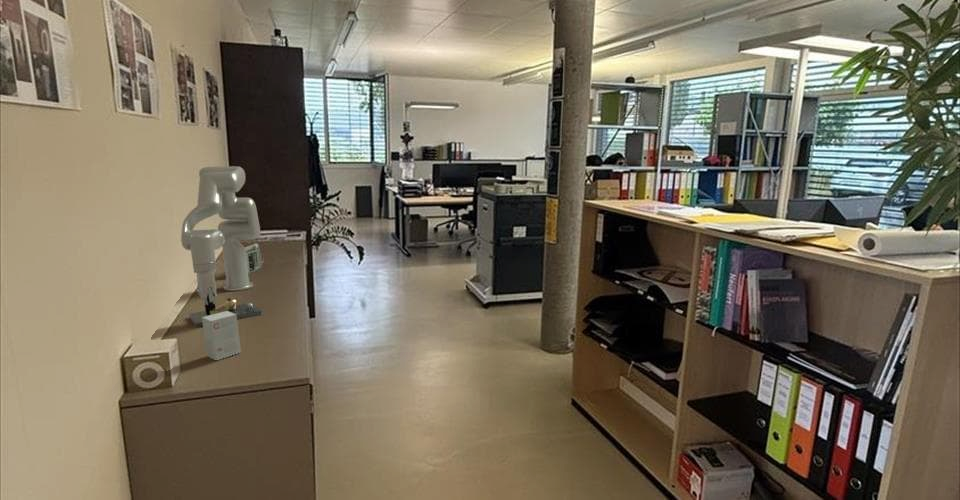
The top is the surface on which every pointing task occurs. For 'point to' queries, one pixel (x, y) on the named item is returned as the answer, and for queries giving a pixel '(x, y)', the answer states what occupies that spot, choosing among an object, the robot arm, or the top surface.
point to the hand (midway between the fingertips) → (211, 314)
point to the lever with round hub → (225, 306)
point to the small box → (221, 335)
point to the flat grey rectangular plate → (240, 312)
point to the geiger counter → (253, 257)
